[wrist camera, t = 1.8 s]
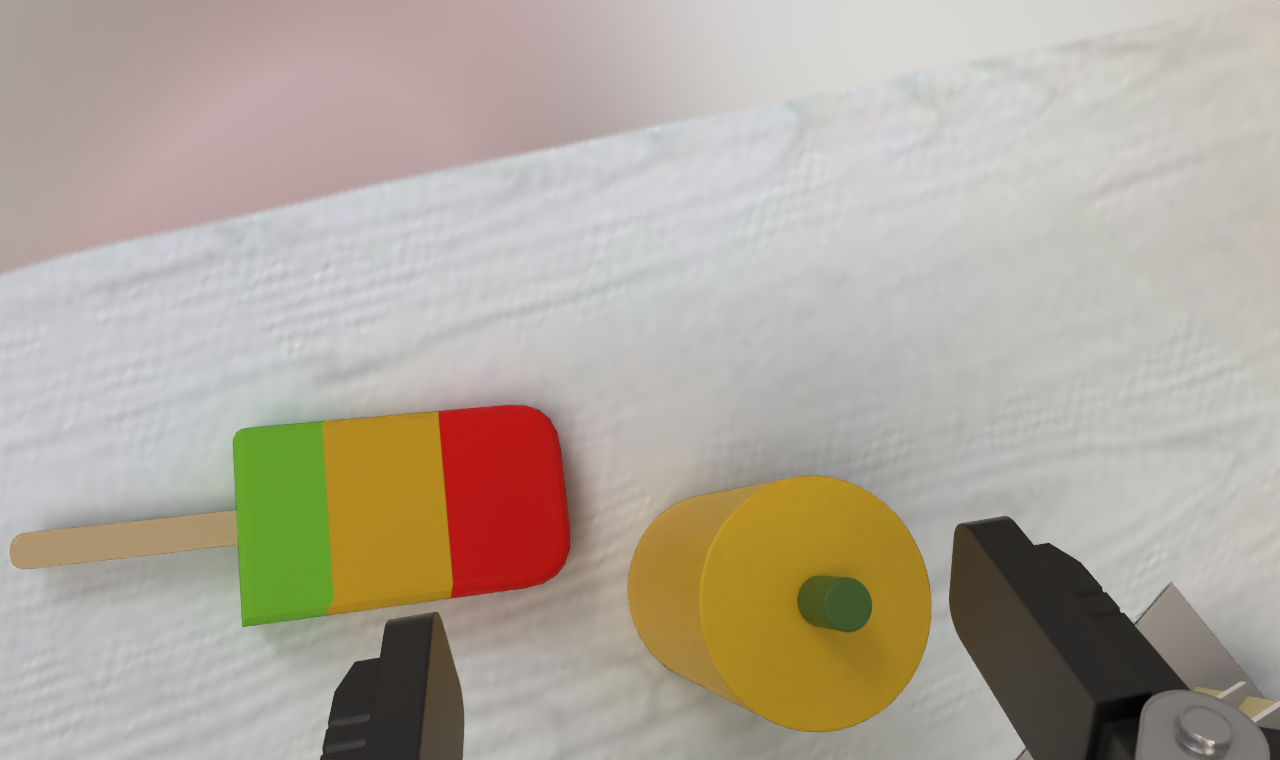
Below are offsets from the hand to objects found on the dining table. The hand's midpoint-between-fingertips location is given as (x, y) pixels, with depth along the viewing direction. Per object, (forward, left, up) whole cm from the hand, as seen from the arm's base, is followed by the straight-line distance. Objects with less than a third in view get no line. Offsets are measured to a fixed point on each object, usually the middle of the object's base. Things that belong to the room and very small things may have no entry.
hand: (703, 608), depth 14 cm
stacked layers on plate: (+21, +8, -15) cm, 27 cm away
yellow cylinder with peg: (+4, +3, -15) cm, 16 cm away
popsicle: (-7, -3, -15) cm, 17 cm away
